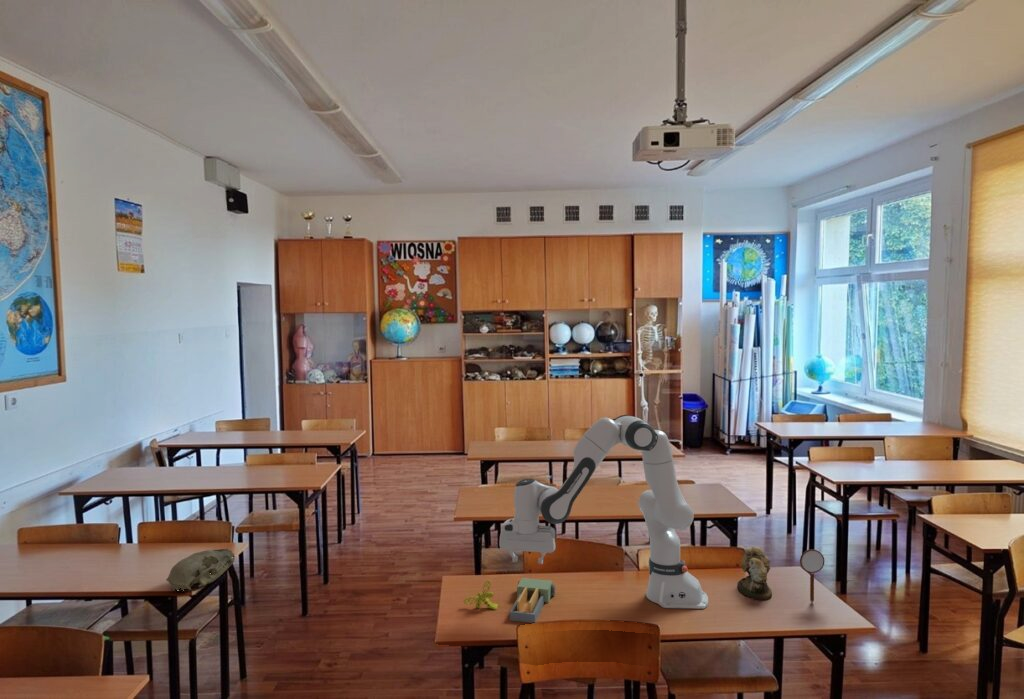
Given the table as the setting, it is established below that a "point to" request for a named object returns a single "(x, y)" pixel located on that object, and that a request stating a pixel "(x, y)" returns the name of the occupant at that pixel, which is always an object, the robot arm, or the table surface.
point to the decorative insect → (483, 598)
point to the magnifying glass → (812, 566)
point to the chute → (527, 605)
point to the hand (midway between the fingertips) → (527, 562)
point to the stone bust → (755, 574)
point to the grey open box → (543, 596)
